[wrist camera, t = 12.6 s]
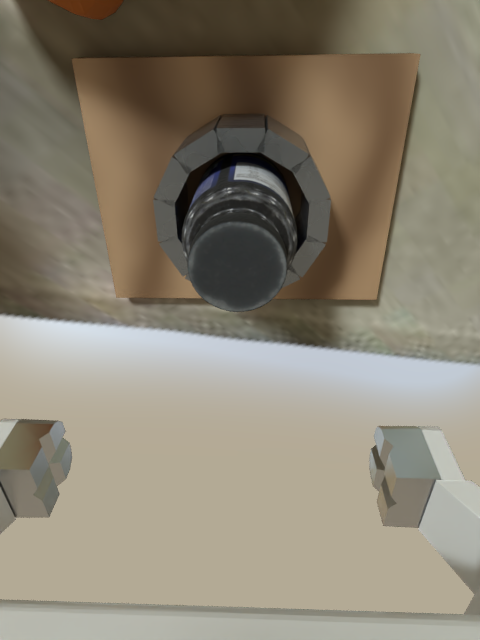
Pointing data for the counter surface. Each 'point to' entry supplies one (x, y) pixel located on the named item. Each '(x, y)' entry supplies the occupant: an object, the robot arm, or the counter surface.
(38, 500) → the robot arm
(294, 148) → the rosette collar
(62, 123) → the counter surface
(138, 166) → the collar base board
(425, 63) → the counter surface
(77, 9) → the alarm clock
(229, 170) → the pill bottle
